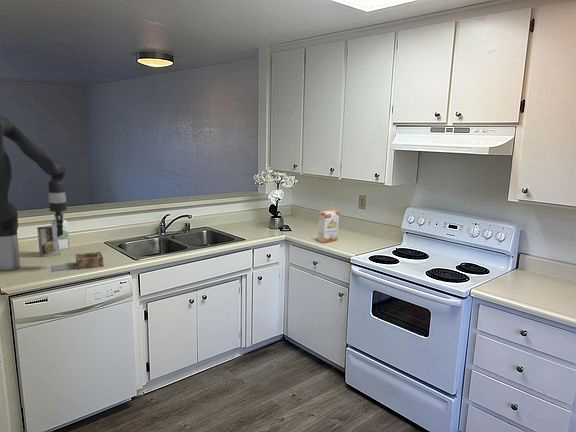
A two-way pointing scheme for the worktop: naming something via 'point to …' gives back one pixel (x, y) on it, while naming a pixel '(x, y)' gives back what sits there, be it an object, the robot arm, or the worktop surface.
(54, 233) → the syrup box
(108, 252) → the worktop surface
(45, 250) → the coffee box
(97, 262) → the box
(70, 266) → the coaster
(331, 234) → the cracker box
